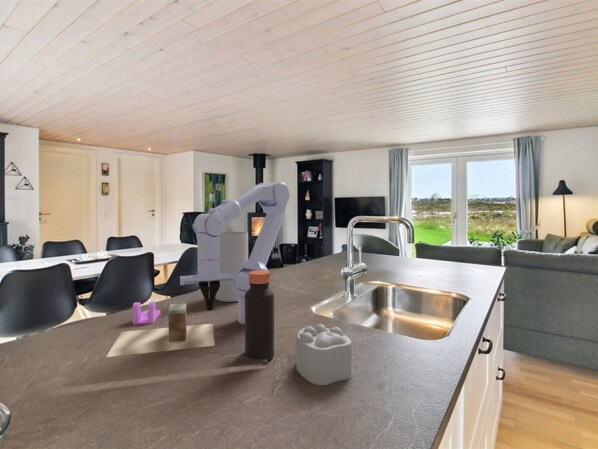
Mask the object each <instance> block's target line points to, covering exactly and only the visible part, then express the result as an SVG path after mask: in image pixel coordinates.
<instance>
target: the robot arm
mask: <svg viewBox="0 0 598 449" xmlns="http://www.w3.org/2000/svg"><path fill="white" fill-rule="evenodd" d="M290 197H291V194H290V191H289V187H288V186H287V183H285V182H283V181H278V182H260V183H258V184H256V185H254V186H253V187H252V188H251V189H249V190H248V191H247V192H246V193H244V194H242V195H241V196H239V197H238V198H237V199H235V200H233V199H223V200H222V201H221V204H219V205H218V206H216V207H214V208H211V207H210V208H209V209H208V212H207V213H201V214H199V215H197V216H196V218H195V219H194V222H193V223H192V226H191V227H192V229H193V231H194V233H195V234H196V240H197V242H196V243H197V245H196V246H197V247H196V248H197V274H193V275H190V274H189V275H180V276H179V285H180V286H185V285H194V284H198V287H199V290H200V292H201V294H202V296H203V298H204V302H205V309H206V311H209V312H210V311H213V307H214V302H215V300H216V298H215V297H216V294H217V292H218V290H219V288H220V282H226V281H233V286H234V288H235V289H236V290H237V294H238V301H237V302H238V303H237V307H238V312H237V313H238V314H237V315H238V316H237V317H238V319H237V320H238V321H237V322H238V323H239V324H241V325H245V293H246V292H247V291H248V290H249V289H250V285H249V272H251V271H268V272H270V271H269V270H268V268H267V264H268V261H269V257H270V255H271V253H272V250H273V248H274V245H275V242H276V240H277V237H278V234H279V232H280V229H281V227H282V223H283V221H284V218H285V215H286V208H287V205H288V203H289V199H290ZM257 202H258V204H259V205H260V207H261V208H262V210H263V211H264V212H265V214H266V215H265V217H264V220H263V223H262V225H261V227H260V229H259V230H260V231H259V233H258V235H257V238H256V241H255V242H254V245H253V248H252V251H251V253H250V255H249V257H248V261H247V262H245V263H243V264H242V265H241V267H240V269H239V270H238V272H237V273H220V234H222V232H225V231H224V230H225V228H226V227H227V226H228V225H230V224H232V223H233V222H235V221H236V220H237V219H239V218H240V217H241V215H242V211H244V210H245V209H248V208H249V207H251V206H252V205H255V204H256V203H257Z"/></svg>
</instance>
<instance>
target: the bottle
mask: <svg viewBox="0 0 598 449" xmlns="http://www.w3.org/2000/svg"><path fill="white" fill-rule="evenodd" d="M268 271H269V270H268ZM268 271H251V272H249V285H250V289H249V290H248V291H247V292H246V293H245V324H244V354H245V356H246V357H247V358H248V359H252V360H265V359H266V361H268V362H269V361H271V360H272V359H273V358H274V356H275V293H274V291H273V290H271V288H270V286H269V285H270V283H271V272H270V271H269V272H268Z"/></svg>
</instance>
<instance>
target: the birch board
mask: <svg viewBox="0 0 598 449" xmlns="http://www.w3.org/2000/svg"><path fill="white" fill-rule="evenodd" d="M215 345H216V344H215V334H214V324H213V323H206V324H205V323H204V324H196V325H194V324H193V325H187V334H186V341H178V342H169V327H163V328H162V327H161V328H150V329H149V328H148V329H139V330H137V329H136V330H128V331H126V330H125V331H121V332H120V334H119V335H118V337H117V339H115V342H114V344H113V345H112V347H111V348H110V350H109V351H108V353H107V355H106V356H105V358H113V357H121V356H130V355H139V354H140V355H141V354H150V353H157V352H158V353H159V352H166V351H167V352H169V351H178V350H188V349H196V348H204V347H205V348H206V347H214V346H215Z"/></svg>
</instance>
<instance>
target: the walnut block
mask: <svg viewBox="0 0 598 449" xmlns="http://www.w3.org/2000/svg"><path fill="white" fill-rule="evenodd" d="M187 320H188V319H187V303H185V302H183V303H173V304H170V305H169V308H168V328H169V342H178V341H186V334H187V326H188V325H187V324H188V322H187Z"/></svg>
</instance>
